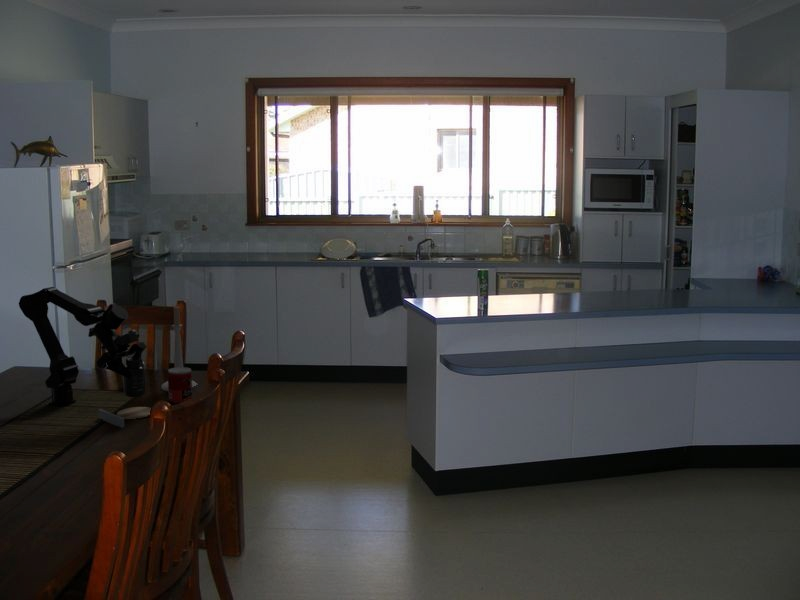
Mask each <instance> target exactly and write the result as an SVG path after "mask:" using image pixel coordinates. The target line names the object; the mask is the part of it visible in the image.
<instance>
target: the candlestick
mask: <svg viewBox="0 0 800 600" xmlns="http://www.w3.org/2000/svg"><path fill="white" fill-rule="evenodd" d="M180 312H181V311H180V306H177V305H176V306H173V324H172V325H171V326H172V327H173V331H174V353H173V354H174V363H173V365H174V367H173V368H176V367H184V364H183V363H184V362H183V350H182V340H181V334H180V333H181V330H182V326H183V324H181V318H180V317H181V314H180ZM196 385H198V383H197V382H196V381H194V380H192V387H194V386H196ZM160 389H161V390H162V391H164V392H169V389H168V380H166V381H165V382H164V383H162V384H161V385H160Z"/></svg>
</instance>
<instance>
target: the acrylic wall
mask: <svg viewBox="0 0 800 600" xmlns="http://www.w3.org/2000/svg"><path fill="white" fill-rule="evenodd" d="M99 418H100V419H99ZM98 419H99V420H101V419H103V420H102V421H103V422H106V423H109V424H110V425H114V426H116V427H118V426H119V427H118V428H121V429H123V427H124V428H125V419H124V418H122V417H120V416H117V414H114V413H112V412H109V411H107V410H104V409H103V408H99V409H98Z"/></svg>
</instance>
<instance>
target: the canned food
mask: <svg viewBox="0 0 800 600" xmlns="http://www.w3.org/2000/svg"><path fill="white" fill-rule="evenodd" d="M192 375H193V373H192V368H190V367H185V366H183V367H176V368H174V367H172V368H171V367H170V368H169V369H167V381H168V389H169V391H168V401H169V403H171V402H173V403H172V404H174V402H178V403H180V402H182V401H186V400H188V399H192V400H193V390H192V381H193V377H192Z"/></svg>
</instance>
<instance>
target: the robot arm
mask: <svg viewBox="0 0 800 600" xmlns="http://www.w3.org/2000/svg"><path fill="white" fill-rule="evenodd" d="M49 303H51V304H53V305H55V306H56V307H59V308H60V309H62V310H63V311H66V312H68V313H69V314H72V315H73V317H74V319H75V320H76V322H78V323H79V324H81V325H82V326H85V327H88V326H93V325H94V326H93V327H89V329H88V334H87V335H88V337H89V338H91V337H95V338H97V340H98V342H99V343H100V344H101V347H100V348H101V350H102V351H104V350H105V351H106V352H103V353H102V354H101V355H100V356H99V357H98V359H97V360H96V366H97V368H98V369H99V370H100V371H101V370H104V369H105V370H107V371H108V370H109V371H111V372H114V373H116V374H118V375H121V376H122V377H123V376H124V377H126V378H128V379H130V378H131V375H130V373H129V372H128V370H127V369H126V365H125V364H124V363H123V359H122V358H125V357H127V358H131V357H139V358H141V362H142V364H141V366H143V367H144V365H143V362H144V361H143V357H142V353H143V352H144V351H145V350H146V349H147V348H148V347H147V345H146V344H145V342H143V341H139V338H140V333H139V332H138V331H137V330H136V329H135V328H134V329H131V330H129V331H128V333H124V334H122V333H118V334H117V332H116V331H115V330H118V329H119V328H120V327H121V326H122V325H123V323H124V322H125V321H126V320H127V319H128V318H129V313H128V311H127V309H125V308H124V307H122V306H120V305H117V303H115V302H114V303H110V304H109V305H108V306H107V309H105V310H104V309H103V308H102V307H101V306H99V305H96V304H93V303H85V302H81V301H80V300H78V299H76V298H74V297H72V296H71V295H68V294H66V293H64V292H62V290H59V289H58V288H57V287H55V286H50V287H45V288H42V289H40V290H39V291H36V292H33V293H31V294H25V295H22V296H21V297H20V299H19V302H18V307H19V308H20V311H21V312H22V314H23V315H24V316H25V317H26V318H27V319H29V320H30V321H31V322H32V323H33V326H34V327H35V330H36V332H37V334H38V336H39V338H40V340H41V343H42V345H43V347H44V349H45V352H46V354H47V356H48V358H49V360H50V361H49V372H50V375H49V377H48V378H47V379H46V380H45V381H44V382H45V383H44V384H45V386H46V388H47V389H48V388H49V389H51V390H50V391H51V392H50V393H51V401H48V405H54V406H59V407H60V406H61V407H64V406H66V405H70V404H74V403H76V402H77V400H76V399H74V395H73V394H74V393H73V385H72V384H76V383H77V382H76V381H77V378H78V376H79V372H80V371H79V365H78V364H77V362H76V359H75V357H74V356H73V355H72V356H68V355H67V354H65V351H64V349H63V347H62V344H61V343H60V340H59V338H58V335H57V334H56V332H55V329H54V327H53V326H52V323H51V321H50V319H49V316H48V314H49V305H48V304H49ZM138 341H139V342H138ZM132 343H133V344H132ZM146 372H147V371H146V370H145V373H146Z"/></svg>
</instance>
